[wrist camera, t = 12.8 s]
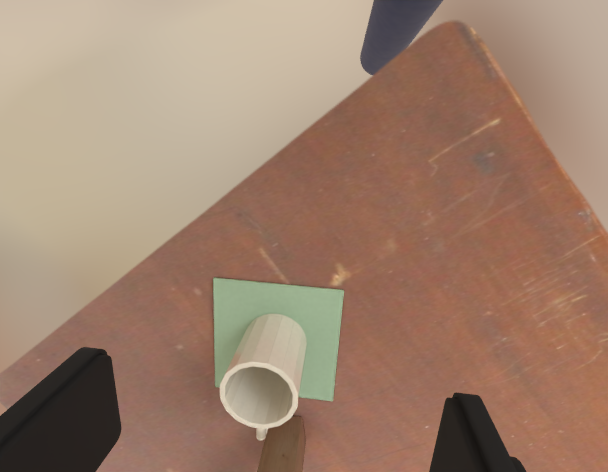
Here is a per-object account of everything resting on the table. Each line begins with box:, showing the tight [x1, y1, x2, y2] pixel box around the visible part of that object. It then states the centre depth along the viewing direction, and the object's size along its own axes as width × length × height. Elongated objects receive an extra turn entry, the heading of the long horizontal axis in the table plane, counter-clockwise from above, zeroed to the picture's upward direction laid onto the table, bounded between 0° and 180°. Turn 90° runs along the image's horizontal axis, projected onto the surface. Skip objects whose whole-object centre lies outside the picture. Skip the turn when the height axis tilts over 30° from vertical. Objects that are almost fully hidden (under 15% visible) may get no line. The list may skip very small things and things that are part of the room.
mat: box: [213, 277, 344, 401], centre depth 39 cm, size 14×14×1 cm
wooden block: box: [257, 416, 306, 472], centre depth 38 cm, size 4×4×8 cm
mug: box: [220, 313, 307, 441], centre depth 35 cm, size 10×7×8 cm
